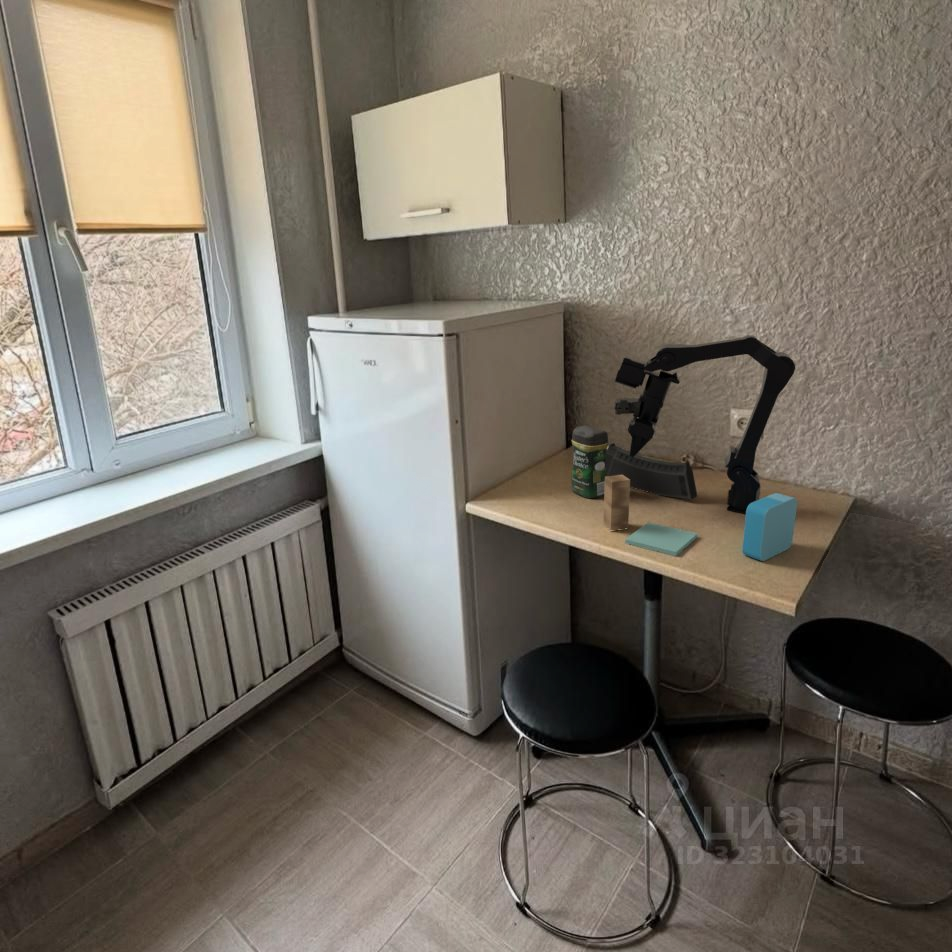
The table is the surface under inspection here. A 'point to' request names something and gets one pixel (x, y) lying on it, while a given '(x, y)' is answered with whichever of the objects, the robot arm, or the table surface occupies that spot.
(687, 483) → the magazine
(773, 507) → the data package
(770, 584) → the table surface
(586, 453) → the coffee jar
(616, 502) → the walnut block
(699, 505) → the table surface
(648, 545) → the teal board
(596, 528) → the table surface
